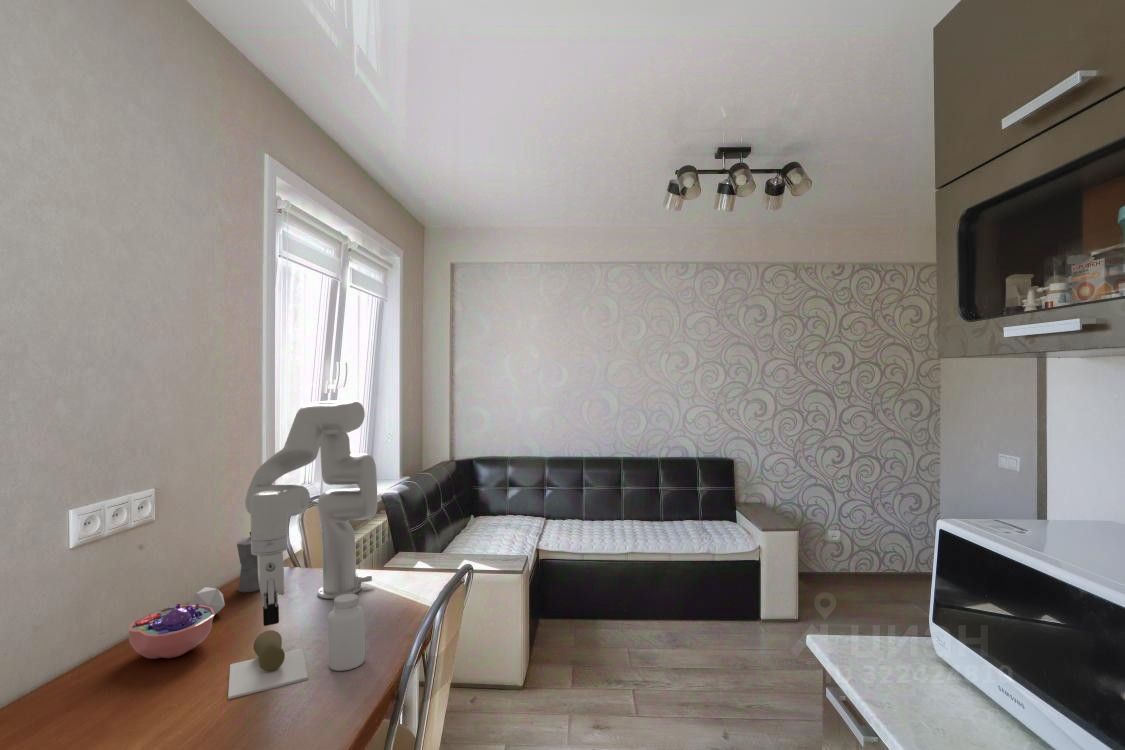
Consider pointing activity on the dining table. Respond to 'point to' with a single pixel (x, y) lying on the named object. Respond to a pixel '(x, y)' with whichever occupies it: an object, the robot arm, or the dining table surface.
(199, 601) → the die
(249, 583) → the coffeepot
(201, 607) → the cell model
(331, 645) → the pill bottle
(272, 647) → the cork
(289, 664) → the mat
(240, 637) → the dining table surface
